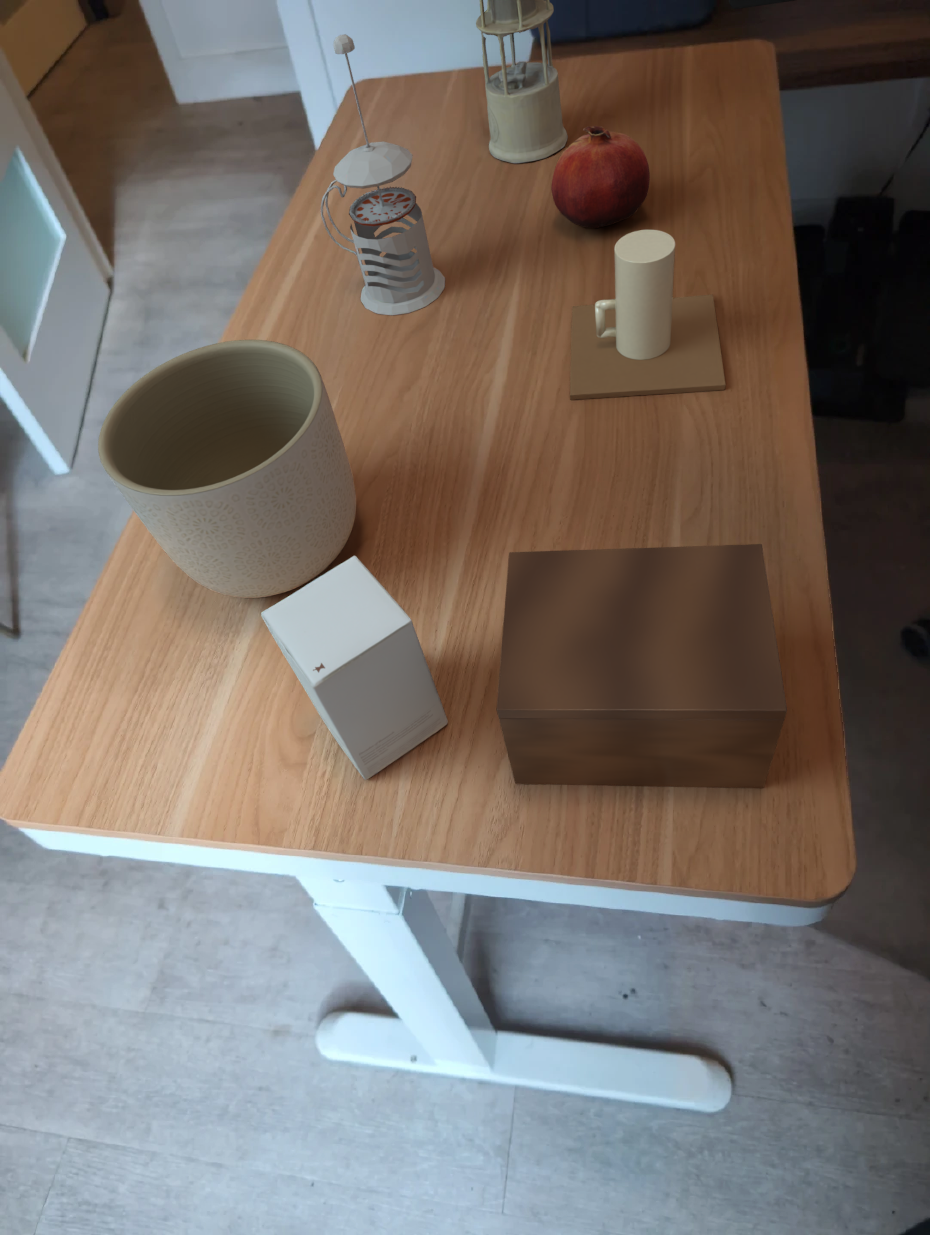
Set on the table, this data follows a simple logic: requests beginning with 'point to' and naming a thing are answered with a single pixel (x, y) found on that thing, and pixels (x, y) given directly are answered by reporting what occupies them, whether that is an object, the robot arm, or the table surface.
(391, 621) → the white packaging box
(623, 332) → the cream mug
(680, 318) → the mat
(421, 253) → the french press
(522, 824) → the table surface
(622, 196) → the fruit
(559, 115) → the lamp
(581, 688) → the brown lidded box
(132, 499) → the planter
